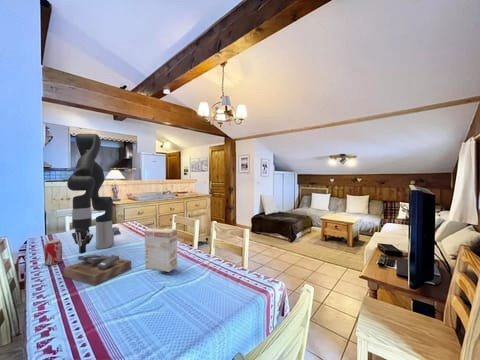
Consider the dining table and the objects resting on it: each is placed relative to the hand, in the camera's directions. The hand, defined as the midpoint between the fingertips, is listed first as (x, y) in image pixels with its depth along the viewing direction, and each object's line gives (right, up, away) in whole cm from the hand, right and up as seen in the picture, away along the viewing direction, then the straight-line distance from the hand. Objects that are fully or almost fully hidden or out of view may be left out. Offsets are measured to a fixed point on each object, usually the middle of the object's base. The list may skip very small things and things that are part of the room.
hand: (82, 252), depth 101 cm
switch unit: (+8, -10, 0) cm, 12 cm away
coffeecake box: (+36, -10, +6) cm, 38 cm away
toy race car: (-27, -10, +61) cm, 68 cm away
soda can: (-24, -10, +12) cm, 29 cm away
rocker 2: (+8, -3, 0) cm, 8 cm away
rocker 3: (+14, -3, -2) cm, 15 cm away
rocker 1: (+1, -3, +3) cm, 5 cm away
